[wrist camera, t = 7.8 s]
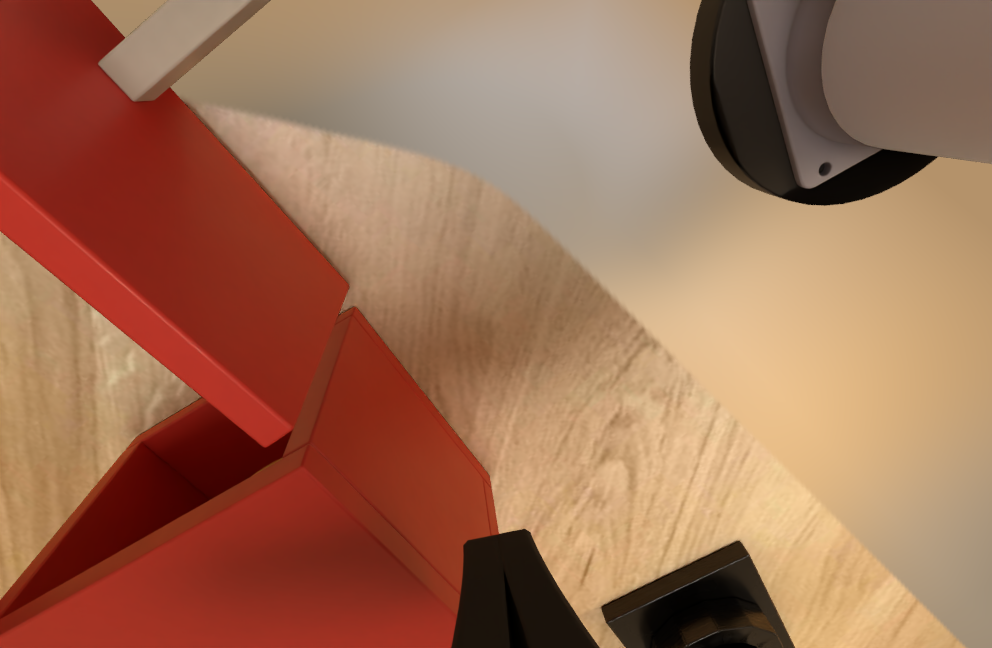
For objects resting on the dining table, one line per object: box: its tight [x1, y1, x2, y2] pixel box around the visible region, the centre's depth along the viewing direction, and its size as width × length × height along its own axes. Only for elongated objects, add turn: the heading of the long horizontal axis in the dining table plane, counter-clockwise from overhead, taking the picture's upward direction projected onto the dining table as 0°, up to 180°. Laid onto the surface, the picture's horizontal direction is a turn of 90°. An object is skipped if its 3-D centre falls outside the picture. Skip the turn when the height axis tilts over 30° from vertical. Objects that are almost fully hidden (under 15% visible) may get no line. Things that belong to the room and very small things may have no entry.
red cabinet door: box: [0, 0, 349, 448], centre depth 11 cm, size 6×10×8 cm, turn 34°
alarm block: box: [602, 541, 795, 648], centre depth 27 cm, size 8×10×2 cm
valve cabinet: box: [0, 307, 499, 648], centre depth 17 cm, size 10×10×8 cm
